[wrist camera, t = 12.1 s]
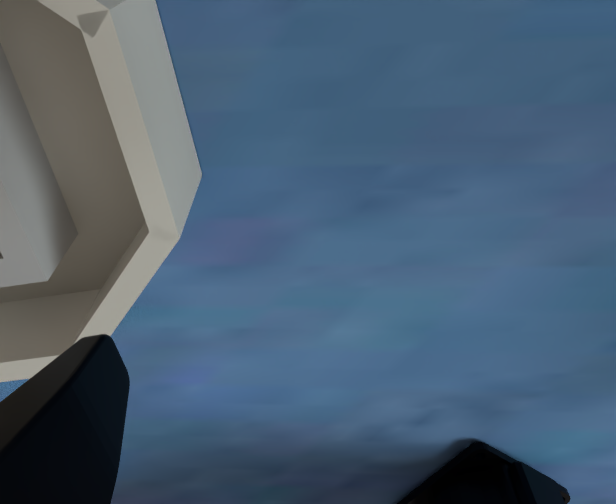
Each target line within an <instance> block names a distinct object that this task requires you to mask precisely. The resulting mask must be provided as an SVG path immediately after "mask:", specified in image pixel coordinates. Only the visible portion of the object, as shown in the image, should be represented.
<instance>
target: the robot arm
mask: <svg viewBox="0 0 616 504" xmlns="http://www.w3.org/2000/svg"><path fill="white" fill-rule="evenodd" d="M129 386H130V381H129V375H128V372H127V369H126V367H125V365H124V363H123V360H122V358H121V356H120V354H119V352H118V350H117V347H116V345H115V343H114V341H113V339H112V338H111V337H110V336H109V335H107V334H100V335H94V336H87V337H83V338H81V339H79V340H78V341H77V342H76V343H74V344H73V345H72V346H71V347H69V348H68V349H67V350H66V351H64V352H63V353H62V354H61V355H59V356H58V357H57V358H55V359H54V360H53V361H52V362H50V363H49V364H48V365H47V366H45V367H44V368H43V369H42V370H40V371H39V372H38V373H37V374H35V375H34V376H33V377H32V378H30V379H29V380H28V381H26V382H25V383H24V384H23V385H21V386H20V387H19V388H18V389H16V390H15V391H14V392H13V393H11V394H10V395H9V396H8V397H6V398H5V399H4V400H3V401H1V402H0V504H110V503H111V499H112V495H113V491H114V487H115V482H116V478H117V473H118V468H119V462H120V455H121V447H122V440H123V432H124V425H125V417H126V410H127V402H128V395H129ZM569 501H570V496H569V493H568V491H567V489H566V488H564V487H563V486H561V485H559V484H557V483H556V482H555V481H554V480H553V479H551V478H549V477H547V476H546V475H544V474H542V473H540V472H538V471H537V470H535V469H533V468H531V467H530V466H528V465H526V464H524V463H522V462H519V461H516V460H514V459H513V458H511V457H509V456H507V455H506V454H504V453H502V452H500V451H498V450H497V449H495V448H493V447H491V446H489V445H488V444H486V443H483V442H477V443H474V444H472V445H470V446H469V447H468V448H467V449H465V450H464V451H463V452H462V453H460V454H459V455H458V456H457V457H455V458H454V459H453V460H452V461H450V462H449V463H448V464H447V465H445V466H444V467H443V468H442V469H440V470H439V471H438V472H437V473H435V474H434V475H433V476H432V477H430V478H429V479H428V480H427V481H425V482H424V483H423V484H422V485H420V486H419V487H418V488H416V489H415V490H414V491H413V492H411V493H410V494H409V495H408V496H406V497H405V498H404V499H403V500H401V501H400V502H399V503H398V504H567V503H568V502H569Z"/></svg>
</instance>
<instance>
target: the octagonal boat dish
mask: <svg viewBox="0 0 616 504" xmlns="http://www.w3.org/2000/svg"><path fill="white" fill-rule="evenodd" d="M201 177H202V172H201V169H200V165H199V161H198V158H197V154H196V150H195V146H194V143H193V139H192V135H191V131H190V128H189V124H188V120H187V117H186V113H185V109H184V105H183V102H182V98H181V94H180V90H179V87H178V83H177V79H176V76H175V72H174V68H173V64H172V61H171V57H170V53H169V50H168V46H167V42H166V38H165V35H164V31H163V27H162V23H161V20H160V16H159V12H158V9H157V5H156V1H155V0H0V382H6V381H13V380H21V379H29V378H32V377H33V376H34V375H35V374H37V373H38V372H39V371H40V370H42V369H43V368H44V367H45V366H47V365H48V364H49V363H50V362H52V361H53V360H54V359H55V358H57V357H58V356H59V355H61V354H62V353H63V352H64V351H66V350H67V349H68V348H69V347H71V346H72V345H73V344H74V343H76V342H77V341H78V340H79V339H81V338H83V337H87V336H94V335H100V334H107V335H109V336H111V334H112V333H113V332H114V330H115V329H116V327H117V326H118V325H119V323H120V322H121V320H122V319H123V318H124V316H125V315H126V313H127V312H128V311H129V309H130V308H131V306H132V305H133V303H134V302H135V301H136V299H137V298H138V296H139V295H140V294H141V292H142V291H143V289H144V288H145V287H146V285H147V284H148V282H149V281H150V280H151V278H152V277H153V275H154V274H155V273H156V271H157V270H158V268H159V267H160V265H161V264H162V263H163V261H164V260H165V258H166V257H167V256H168V254H169V253H170V251H171V250H172V249H173V247H174V246H175V244H176V243H177V242H178V240H179V239H180V236H181V233H182V230H183V228H184V225H185V222H186V219H187V216H188V214H189V211H190V208H191V205H192V202H193V199H194V197H195V194H196V191H197V188H198V185H199V182H200V180H201Z"/></svg>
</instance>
